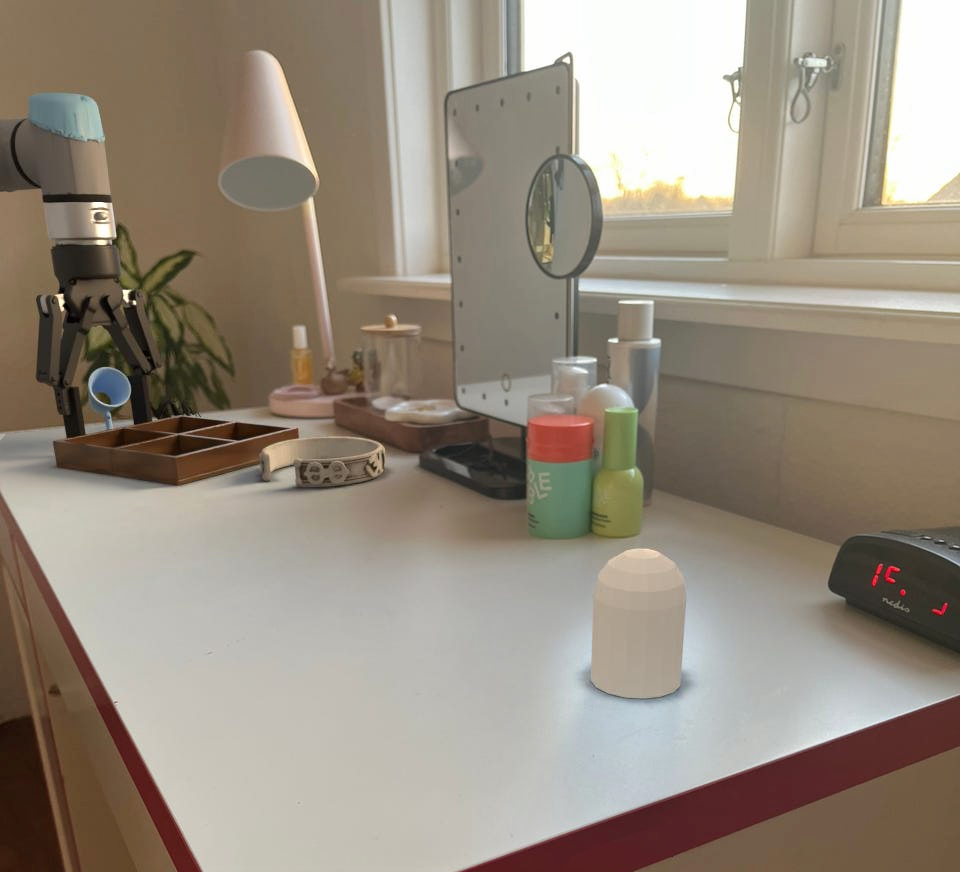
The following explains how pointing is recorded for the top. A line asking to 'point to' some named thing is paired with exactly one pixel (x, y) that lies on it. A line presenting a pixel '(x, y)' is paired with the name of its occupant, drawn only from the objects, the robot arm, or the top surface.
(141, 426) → the tray
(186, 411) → the creature
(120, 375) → the spotlight
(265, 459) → the bracelet
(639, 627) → the cream domed cylinder
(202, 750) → the top surface
